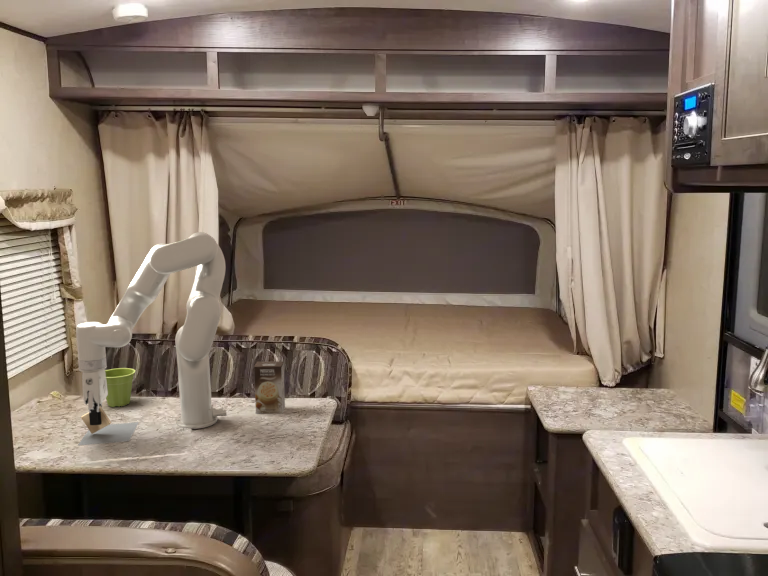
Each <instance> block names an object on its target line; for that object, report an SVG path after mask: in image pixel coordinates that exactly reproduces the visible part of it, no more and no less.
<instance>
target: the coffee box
mask: <svg viewBox="0 0 768 576" xmlns="http://www.w3.org/2000/svg"><path fill="white" fill-rule="evenodd" d="M284 365H285V364H284V361H256V363H255V364H254V367H253V369H254V370H253V371H254V374H253V375H254V396H255V397H254V398H255V400H254V402H255V414H256V415H257V414H261V415H262V414H263V415H264V414H267V415H268V414H283V413H284V411H285V408H286V402H285V399H286V398H285V366H284Z"/></svg>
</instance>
